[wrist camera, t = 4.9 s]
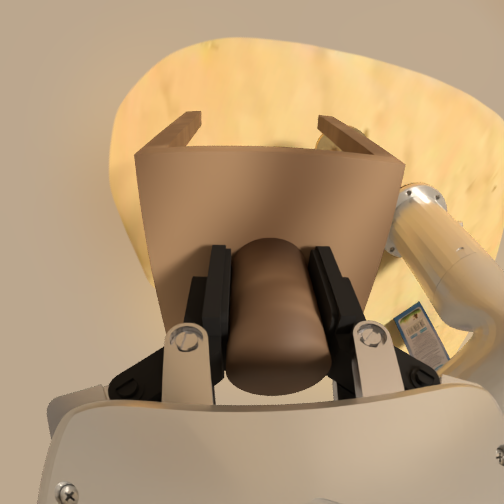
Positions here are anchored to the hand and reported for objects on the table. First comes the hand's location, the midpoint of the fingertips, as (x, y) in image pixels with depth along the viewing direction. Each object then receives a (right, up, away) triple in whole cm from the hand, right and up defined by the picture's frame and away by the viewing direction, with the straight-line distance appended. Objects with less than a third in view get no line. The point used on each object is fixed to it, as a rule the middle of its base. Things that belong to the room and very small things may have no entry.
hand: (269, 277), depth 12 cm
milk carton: (+33, -13, +43) cm, 56 cm away
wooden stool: (0, +6, +9) cm, 11 cm away
